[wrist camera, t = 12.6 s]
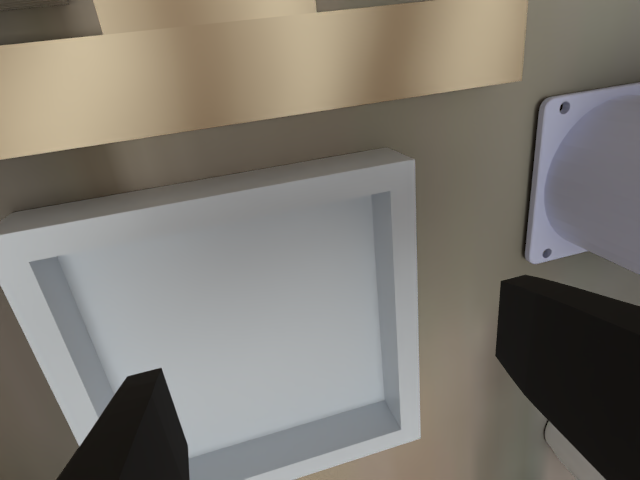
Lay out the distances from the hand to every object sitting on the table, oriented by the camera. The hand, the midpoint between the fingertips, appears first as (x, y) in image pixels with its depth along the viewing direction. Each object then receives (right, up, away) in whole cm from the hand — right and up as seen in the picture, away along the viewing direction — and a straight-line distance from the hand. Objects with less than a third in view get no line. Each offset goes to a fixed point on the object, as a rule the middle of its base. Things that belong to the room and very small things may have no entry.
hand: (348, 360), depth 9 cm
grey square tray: (-4, -1, +10) cm, 11 cm away
